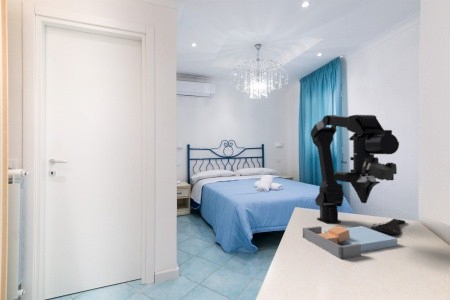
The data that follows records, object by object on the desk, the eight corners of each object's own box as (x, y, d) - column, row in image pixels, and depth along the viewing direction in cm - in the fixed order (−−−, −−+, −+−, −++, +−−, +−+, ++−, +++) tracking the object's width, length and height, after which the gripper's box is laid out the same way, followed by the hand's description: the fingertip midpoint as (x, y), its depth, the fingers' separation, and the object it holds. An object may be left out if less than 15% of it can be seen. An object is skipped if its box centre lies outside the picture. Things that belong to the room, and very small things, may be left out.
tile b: (317, 242, 70) (317, 234, 70) (327, 240, 71) (327, 232, 71) (327, 247, 66) (327, 238, 66) (337, 245, 67) (337, 237, 67)
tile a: (329, 237, 71) (328, 229, 71) (339, 233, 72) (338, 225, 72) (339, 242, 67) (338, 234, 67) (350, 237, 68) (348, 229, 68)
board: (324, 237, 75) (324, 230, 75) (362, 231, 80) (362, 226, 80) (355, 252, 64) (355, 245, 64) (397, 245, 69) (397, 238, 69)
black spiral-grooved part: (414, 217, 89) (393, 227, 74) (414, 227, 89) (393, 239, 74) (389, 213, 96) (365, 221, 80) (389, 222, 96) (365, 232, 80)
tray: (302, 237, 75) (302, 228, 75) (319, 235, 77) (319, 226, 77) (340, 259, 60) (340, 247, 60) (361, 255, 62) (360, 244, 62)
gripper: (362, 154, 63) (363, 211, 62) (411, 154, 68) (411, 206, 68) (332, 154, 73) (332, 202, 73) (376, 153, 79) (377, 199, 79)
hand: (363, 203), depth 73 cm, fingers closed
